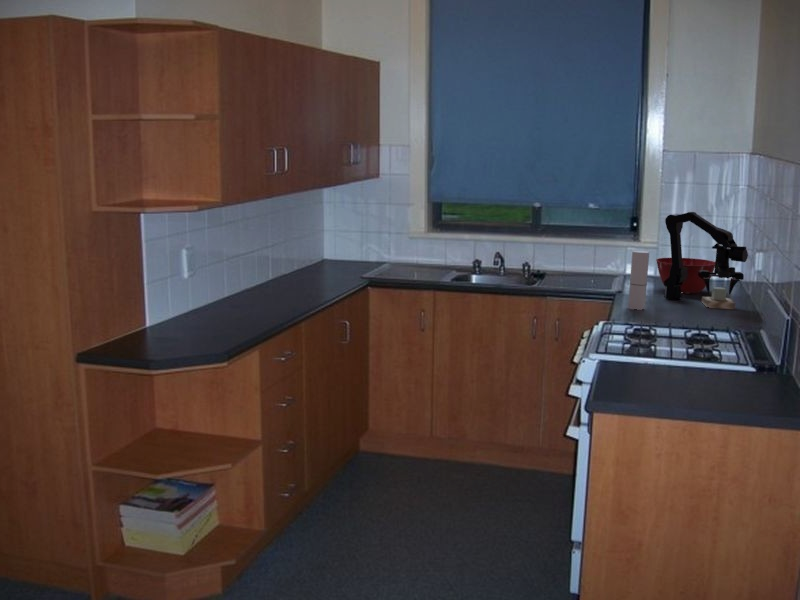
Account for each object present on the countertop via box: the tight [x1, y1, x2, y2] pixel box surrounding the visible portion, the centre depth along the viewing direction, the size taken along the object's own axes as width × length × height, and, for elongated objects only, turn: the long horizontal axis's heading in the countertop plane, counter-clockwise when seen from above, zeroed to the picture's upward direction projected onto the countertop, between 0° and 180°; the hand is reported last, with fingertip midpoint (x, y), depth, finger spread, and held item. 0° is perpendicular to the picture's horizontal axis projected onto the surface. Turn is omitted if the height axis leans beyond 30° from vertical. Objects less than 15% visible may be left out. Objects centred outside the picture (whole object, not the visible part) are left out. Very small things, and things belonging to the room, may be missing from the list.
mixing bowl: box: [655, 257, 715, 294], centre depth 439 cm, size 28×28×16 cm
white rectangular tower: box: [627, 250, 650, 311], centre depth 390 cm, size 7×7×25 cm
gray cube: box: [710, 286, 727, 300], centre depth 403 cm, size 5×5×5 cm
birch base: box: [701, 296, 736, 310], centre depth 404 cm, size 12×12×3 cm
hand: (718, 293), depth 403 cm, fingers open, 9 cm apart
